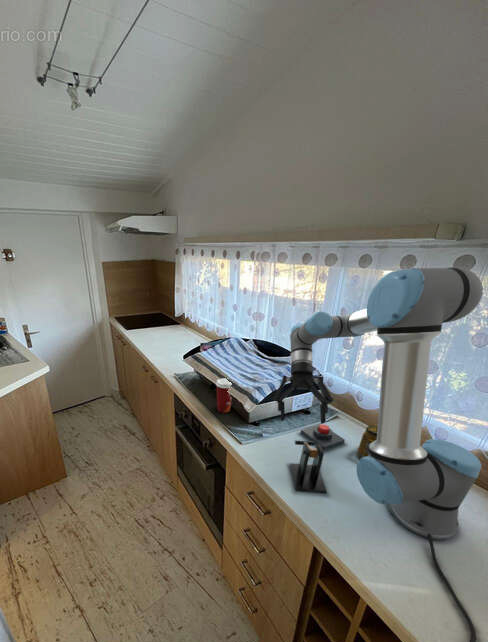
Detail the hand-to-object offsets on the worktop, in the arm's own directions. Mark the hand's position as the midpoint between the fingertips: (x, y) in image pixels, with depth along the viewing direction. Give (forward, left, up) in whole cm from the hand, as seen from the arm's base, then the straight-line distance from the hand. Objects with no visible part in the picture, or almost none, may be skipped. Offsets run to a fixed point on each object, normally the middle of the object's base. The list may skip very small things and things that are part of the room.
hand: (302, 421), depth 106 cm
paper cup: (+30, +23, -12) cm, 40 cm away
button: (+5, -11, -8) cm, 15 cm away
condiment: (-7, -21, -12) cm, 25 cm away
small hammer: (-12, +2, -4) cm, 13 cm away
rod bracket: (-16, +3, -12) cm, 20 cm away
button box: (+5, -11, -12) cm, 17 cm away
